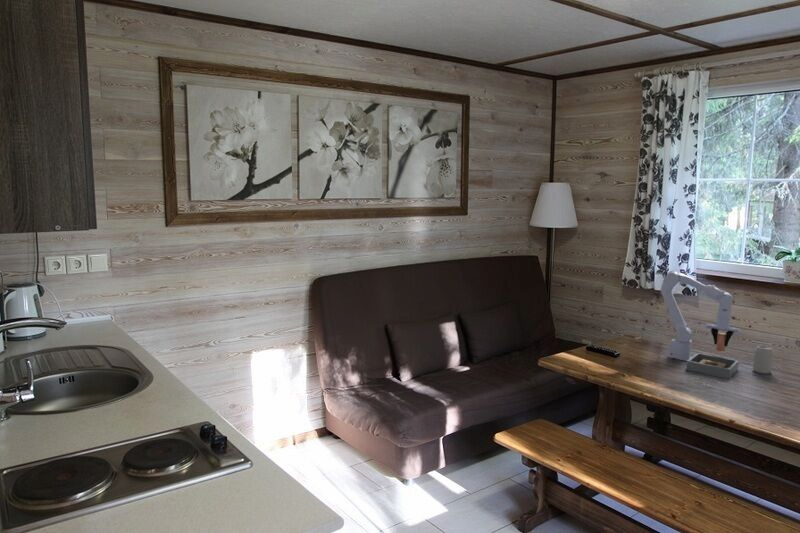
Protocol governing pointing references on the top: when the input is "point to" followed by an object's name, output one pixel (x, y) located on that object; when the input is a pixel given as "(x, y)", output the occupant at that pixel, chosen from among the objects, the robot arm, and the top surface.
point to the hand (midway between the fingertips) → (720, 345)
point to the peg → (721, 341)
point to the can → (763, 359)
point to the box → (712, 365)
